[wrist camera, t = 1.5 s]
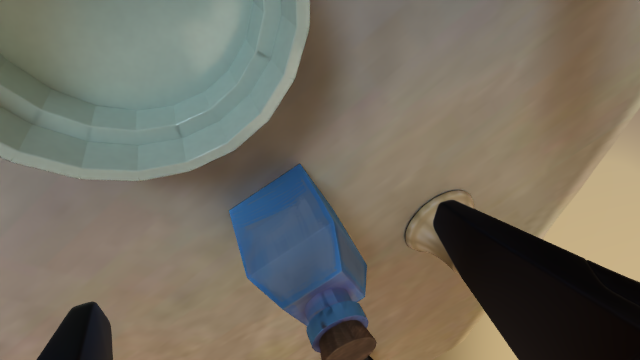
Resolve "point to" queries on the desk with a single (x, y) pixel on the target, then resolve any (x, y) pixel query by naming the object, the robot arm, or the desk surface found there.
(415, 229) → the hand bell
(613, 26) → the desk surface
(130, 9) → the bowl
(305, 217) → the perfume bottle
